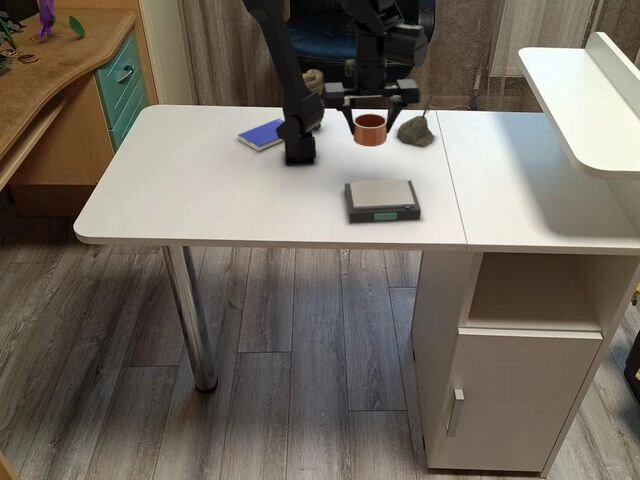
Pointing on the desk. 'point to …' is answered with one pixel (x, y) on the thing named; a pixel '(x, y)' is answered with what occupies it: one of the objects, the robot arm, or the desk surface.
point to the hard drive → (262, 135)
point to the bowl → (370, 129)
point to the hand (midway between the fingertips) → (370, 133)
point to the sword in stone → (416, 130)
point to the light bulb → (315, 84)
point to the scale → (381, 201)
